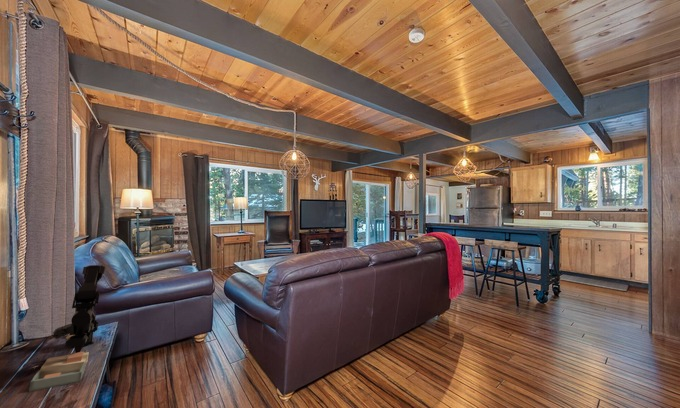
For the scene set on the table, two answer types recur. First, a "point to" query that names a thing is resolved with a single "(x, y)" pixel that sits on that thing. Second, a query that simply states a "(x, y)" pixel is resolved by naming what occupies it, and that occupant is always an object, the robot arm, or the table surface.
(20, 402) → the table surface
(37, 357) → the table surface
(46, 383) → the tray
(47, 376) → the tile
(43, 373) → the shallow cream tray
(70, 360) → the tile
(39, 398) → the table surface
